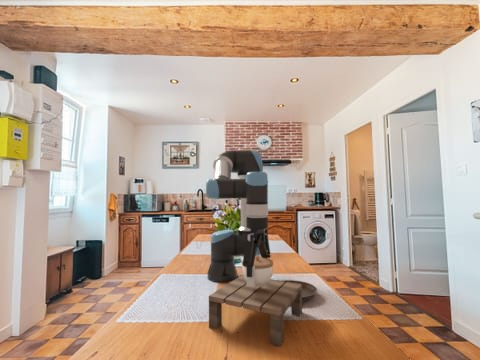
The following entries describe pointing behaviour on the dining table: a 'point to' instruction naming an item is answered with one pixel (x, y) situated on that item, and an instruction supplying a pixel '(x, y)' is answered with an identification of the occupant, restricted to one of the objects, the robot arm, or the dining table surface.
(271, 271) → the lidded jar
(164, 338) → the dining table surface
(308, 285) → the plant saucer
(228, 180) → the robot arm
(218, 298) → the walnut rack
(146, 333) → the dining table surface
